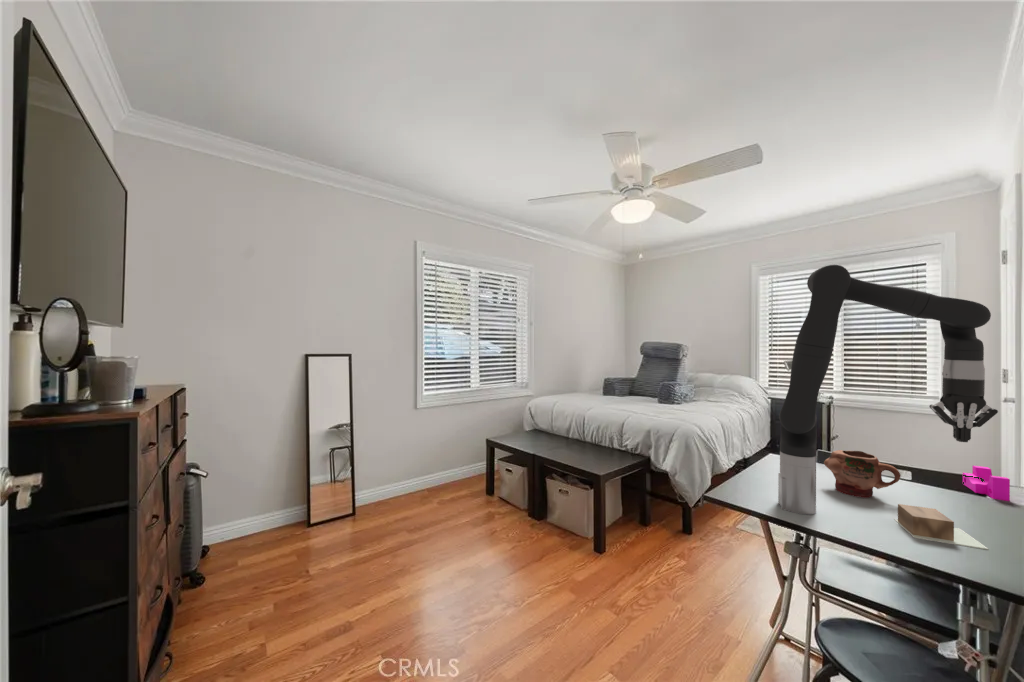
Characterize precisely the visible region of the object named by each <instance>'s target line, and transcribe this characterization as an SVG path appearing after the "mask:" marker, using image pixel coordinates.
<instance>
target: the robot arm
mask: <svg viewBox="0 0 1024 682" xmlns="http://www.w3.org/2000/svg"><path fill="white" fill-rule="evenodd" d="M806 285H807V288H808V290H809V291H810V293H811V297H810V304H809V307H808V312H807V315H806V317H805V319H804V321H803V323H802V325H801V327H800V330H799V331H798V335H797V338H796V341H795V344H794V349H793V354H792V360H791V369H790V378H789V379H790V381H789V386H788V390H787V393H786V396H785V400H784V402H783V404H782V407H781V409H780V410H779V415H778V416H779V417H778V419H779V421H780V440H779V473H778V480H777V482H778V487H777V492H778V493H777V494H778V496H777V498H778V499H777V500H778V501H777V503H778V502H779V503H778V504H780V505H779V507H780V506H781V507H780V509H781V508H782V510H784V509H786V510H785V511H788V510H789V511H788V512H791V513H795V514H799V515H815V514H817V513H816V512H817V444H818V443H817V442H818V441H817V439H818V438H817V437H818V435H817V430H818V428H817V425H818V423H817V422H818V420H817V419H818V418H817V404H818V397H819V393H820V390H821V386H822V384H823V382H824V379H825V377H826V374H827V372H828V370H829V367H830V363H831V359H832V355H833V351H834V346H835V341H836V336H837V331H838V324H839V317H840V312H841V310H842V306H843V304H844V300H846V301H852V302H857V303H860V304H861V303H862V304H865V305H870V306H873V307H876V308H880V309H883V310H888V311H891V312H894V313H898V314H902V315H905V316H910V317H913V318H917V319H923V320H933V321H934V320H935V321H938V322H939V327H940V331H941V335H942V339H943V341H944V350H943V351H944V355H943V358H944V360H943V365H942V372H941V376H942V383H941V384H942V386H941V387H942V396H941V397H940V399H939V402H937V403H934V404H929V408H930V410H931V411H932V412H934V414H936V415H937V417H938V418H939V419H940V420H941V421H942V422H943V423H944V424H947V425H951V426H952V428H953V430H952V437H953V439H954V440H955V441H956V442H959V443H968V442H969V441H971V439H972V437H971V436H972V428H980V427H982V426H983V425H984V424H986V423H987V422H988V421H990V420H991V419H992V418H993V417H995V415H997V414H998V413H999V411H998V409H996V408H992V407H991V406H989V405H988V404H987V401H986V399H985V383H986V380H985V379H986V368H985V363H984V356H985V355H984V354H985V352H984V351H985V350H984V349H985V348H984V342H983V341H982V340H981V339H979V338H978V337H977V333H976V329H977V328H981V327H982V326H985V325H986V324H987V323H989V321H990V320H991V316H992V314H991V310H990V309H989V308H988V307H987V306H986V305H984V304H982V303H980V302H978V301H973V300H969V299H961V298H956V297H948V296H941V295H936V294H933V293H930V292H926V291H923V290H922V291H921V290H917V289H912V288H910V287H903V286H896V285H890V284H889V285H888V284H882V283H876V282H870V281H866V280H865V281H864V280H861V279H858V278H855V277H852V276H851V274H850V272H849V270H848V269H847V268H846V267H844V266H842V265H840V264H833V263H832V264H828V265H825V266H822V267H820V268H818V269H816V270H814V271H813V272H812V273H811V274H810V275H809V277H808V278H807V283H806ZM945 409H946V410H947V411H948V412H949V413H950V415H948V414H947V413H946V412H945ZM979 412H980V413H979ZM977 414H978V415H977ZM976 415H977V416H976Z"/></svg>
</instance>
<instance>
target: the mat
mask: <svg viewBox="0 0 1024 682" xmlns="http://www.w3.org/2000/svg"><path fill="white" fill-rule="evenodd" d="M893 520H894V521H895V522H896V523H897V524H898V525H900V526H901V527H902V528H903V530H905V531H906V532H907V533H908V534H909V535H910V536H912V537H913V538H914V539H919V540H924V541H926V540H927V541H932V542H937V543H938V542H939V543H943V544H950V545H955V546H962V547H967V548H968V547H969V548H974V549H981V550H987V551H989V548H988V547H986V546H985V545H984V544H982V543H981V542H980V541H979V540H977V539H975V538H974V537H972V536H971V535H970V534H968V533H967V532H965V531H964V530H963V529H961V527H960V528H959V527H954V541H950V540H943V539H937V538H931V537H924V536H918V535H913V534H912V533H911V532H909V531H908V530H907V529H906V528H905V527H904V526H903V525H902V524H900V523H899V522H898V518H897V519H896V518H893Z"/></svg>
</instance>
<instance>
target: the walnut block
mask: <svg viewBox="0 0 1024 682" xmlns="http://www.w3.org/2000/svg"><path fill="white" fill-rule="evenodd" d="M897 519H898V522H899V523H900V524H902V525H903V526H904V527H905V528H906V529H907V530H908V531H909V532H911V533H912V534H913V535H918V536H924V537H931V538H937V539H943V540H950V541H954V528H955V521H953V520H952V519H950V518H949V517H948V516H947V515H944V513H942V512H941V511H939V510H937V508H932V507H931V508H930V507H923V506H916V505H908V504H900V503H897ZM900 524H899V525H900Z"/></svg>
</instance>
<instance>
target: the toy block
mask: <svg viewBox="0 0 1024 682" xmlns="http://www.w3.org/2000/svg"><path fill="white" fill-rule="evenodd" d="M992 472H993V471H992V469H991V468H990V467H987V466H981V465H980V466H979V465H972V473H971V472H970V473H969V472H962V483H963V482H964V484H963V486H965V487H967V488H968V489H970V490H971V491H973V492H974V493H975V494H981V495H986V496H988V497H989V498H991V499H993V500H999V501H1006V502H1010V501H1011V495H1010V494H1011V491H1010V490H1011V486H1010V485H1011V484H1010V482H1011V479H1010V478H1008V477H1006V476H998V475H993V474H992ZM963 475H966V476H973V477H965V476H963ZM974 477H979V479H978V478H974ZM980 478H982V479H984V481H985V482H984V481H983V482H982V481H981V479H980Z"/></svg>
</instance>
